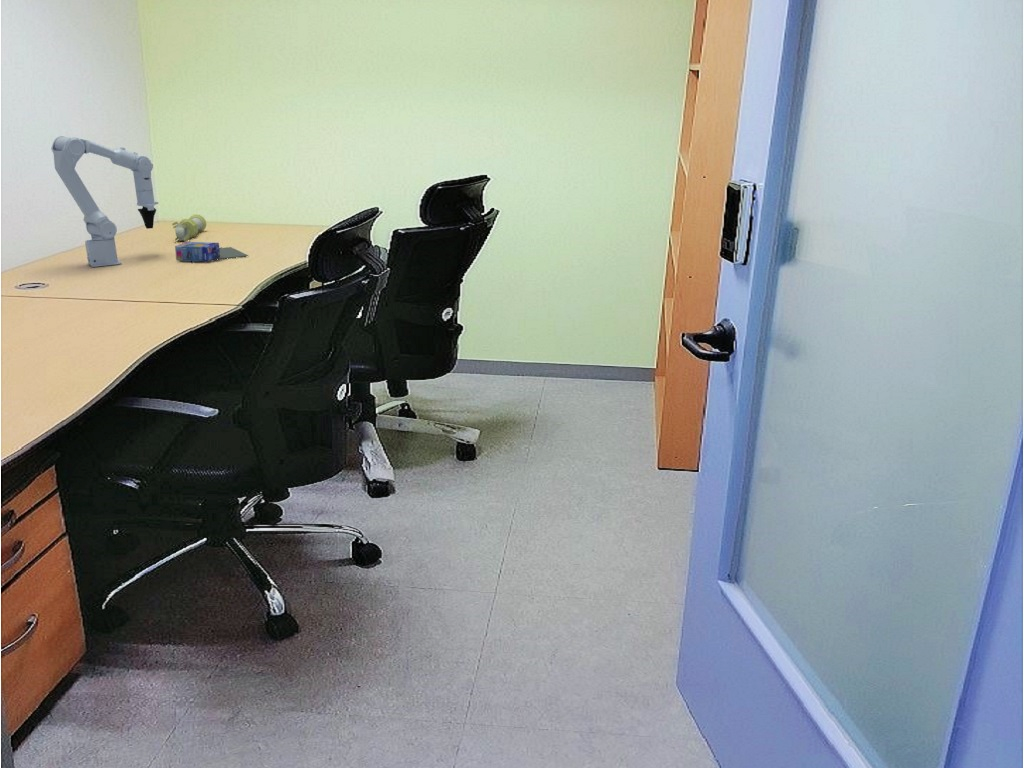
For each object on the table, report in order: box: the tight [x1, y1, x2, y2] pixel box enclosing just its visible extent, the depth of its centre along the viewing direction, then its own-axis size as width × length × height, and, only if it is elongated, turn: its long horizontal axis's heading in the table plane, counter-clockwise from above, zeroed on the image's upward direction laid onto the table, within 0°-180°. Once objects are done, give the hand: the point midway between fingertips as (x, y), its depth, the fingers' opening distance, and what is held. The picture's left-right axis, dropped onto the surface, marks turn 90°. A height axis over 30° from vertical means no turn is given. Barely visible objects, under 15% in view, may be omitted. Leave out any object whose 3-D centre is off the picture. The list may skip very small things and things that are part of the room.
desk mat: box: [191, 246, 249, 263], centre depth 309 cm, size 20×20×1 cm
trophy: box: [171, 214, 207, 244], centre depth 344 cm, size 8×8×30 cm
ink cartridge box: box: [174, 241, 223, 262], centre depth 300 cm, size 10×6×14 cm
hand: (149, 228), depth 304 cm, fingers closed
